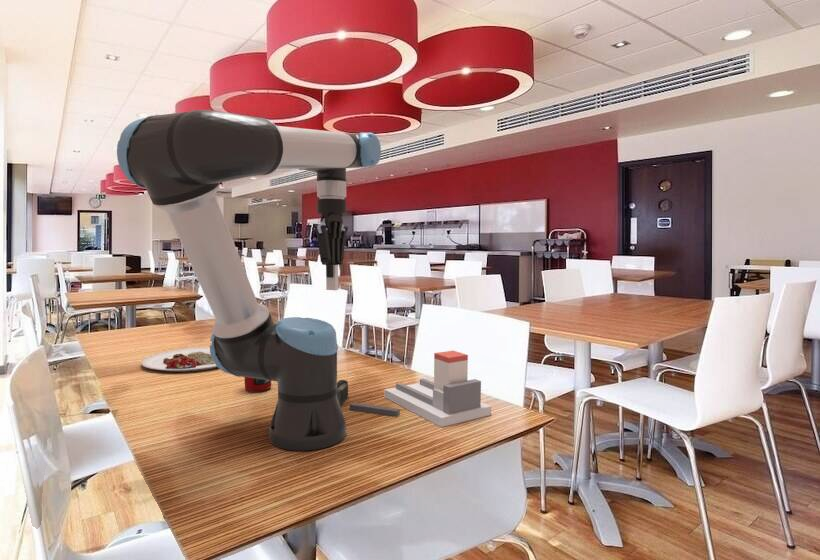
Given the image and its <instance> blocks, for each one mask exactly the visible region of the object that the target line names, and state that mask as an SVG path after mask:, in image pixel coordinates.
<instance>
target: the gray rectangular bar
mask: <svg viewBox="0 0 820 560" xmlns="http://www.w3.org/2000/svg"><path fill="white" fill-rule="evenodd" d="M349 410H350V411H355V412H362V413H367V414H368V413H369V414H375V415H382V416H387V417H388V416H389V417H394V416H395V417H396V418H397V417H398V416H400V415H401V413H400V412H401V409H400V408H394V407H387V406H379V405H374V404H365V403H359V402H352V403H350V404H349Z"/></svg>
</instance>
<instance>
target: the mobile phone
mask: <svg viewBox="0 0 820 560" xmlns="http://www.w3.org/2000/svg"><path fill="white" fill-rule="evenodd" d="M337 398H338V401H339V404H340V406H341V405H342V404H343V403H344V402H346V400H348V398H349V383H348V380H345V379H340V380H337Z"/></svg>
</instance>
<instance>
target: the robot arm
mask: <svg viewBox="0 0 820 560" xmlns="http://www.w3.org/2000/svg"><path fill="white" fill-rule="evenodd" d="M119 136H120V137H119V139H118V141H117V145H116V157H117V158H116V159H117V163H118V166H119V169H120V170H121V172H122V174H123V175H124V177H125V178H126V179H127V180H128V181H129V182H130V183H132V184H135V186H137V187H140V188H142V189H146V192H147V194H148V197H149V198H150V200H151V203H152V205H153V206H154V207H156V208H159V209H161V210H164V211H166V213H167V215H168V217H169V219H170V221H171V224H172V226H173V228H174V231H175V233H176V234H177V237H178V239H179V241H180V244H181V246H182V249H183V250H184V252H185V255H186V257H187V259H188V262H189V263H190V265H191V267H192V270H193V272H194V274H195V276H196V278H197V281H198V283H199V285H200V287H201V290H202V292H203V294H204V297H205V298H206V300H207V303H208V305H209V307H210V310H211V311H212V314H213V316H214V319H215V321H214V323H213V325H212V329H211V331H212V333H211V336H210V340H209V341H210V342H211V345H209V347H210V354H211V357H212V359H213V361H214V363H215V364H216V366H217V367H216V368H218V369H219V370H220V371H222V372H223V373H226V374H229V375H233V376H235V377H238V378H239V377H242V378H244V377H249V378H256V379H263V380H271V382H276V383H277V403H276V405H275V408H274V411H273V414H272V418H271V421H270V425H269V429H268V431H269V433H268V434H269V435H268V438H269V442H270V444H272V446H275V447H277V448H279V449H283V450H286V451H287V450H288V451H295V452H296V451H298V452H299V451H300V452H301V451H302V452H303V451H304V452H305V451H306V452H307V451H313V450H314V451H315V450H316V451H317V450H321V449H325V448H328V447H332V446H334V445H336V444H339V443H340V442H342V441H343V440H344V439H345V437H346V435H347V422H346V419H345V415H344V414H343V410H342V407H341V405H340V404H339V401H338V398H337V382H338V349H339V344H338V341H337V340H338V339H337V332H336V329H335V328H334V326H333V325H332V324H331V323H329V322H327V321H324V320H321V319H318V318H312V317H299V316H298V317H297V316H294V317H292V316H291V317H285V318H281V319H279V320H278V321H277V322H276V323H275V322H274V320H273V317H272V315H271V312H270V310H269V307H268V306H267V305H265V304H261V303H258V300H257V297H256V295H255V293H254V290H253V288H252V285H251V283H250V280H249V277H248V275H247V272H246V270H245V267H244V265H243V262H242V260H241V257H240V254H239V253H238V250H237V247H236V245H235V242H234V240H233V237H232V235H231V233H230V229H229V227H228V225H227V221H226V220H225V217H224V215H223V211H222V209H221V206H220V205H219V202H218V200H217V198H216V197H217V196H216V194H217V192H218V190H219V189H220V186H221V185H220V183H225V182H230V181H233V180H234V181H235V180H239V179H244V178H250V177H255V176H257V177H258V176H269V175H270V174H273V173H274V172H276V171H277V170H288V169H289V170H294V169H295V170H296V169H297V170H299V171H308V172H314V173H316V196H317V197H318V198H319V199H317V200H316V212H317V214H318V215H320V222H319V224H315V225H314V230H315V233H316V236H317V237H316V238H317V244H318V251H319V259H320V263H321V265H322V266H325V278H326V279H325V281H326V285H325V287H326V290H327V291H339V265H341V266H342V264H343V262H344V255H345V248H346V247H345V246H346V239H347V237H346V236H347V234H348V229H349V228H348V226H345V225H344V221H343V216H342V215H345V214H346V213H347V200H346V199H345V198H347V169H356V168H357V169H358V168H359V169H361V168H364V169H366V168H369V167H374V166H376V165H378V163H379V162H380V160H381V158H382V157H381V155H382V151H381V150H382V148H381V142H380V140H379V137H378V136H377V135H376V134H375V133H373V132H359V133H358V132H357V133H354V132H353V133H351V132H350V133H349V132H340V131H332V130H331V131H330V130H320V129H313V128H312V129H311V128H300V127H292V126H283V125H282V126H281V125H276V124H275V123H274V122H272V121H271V120H270V119H267V118H264V117H257V116H250V115H244V114H239V113H234V112H228V111H227V112H226V111H220V110H213V109H212V110H211V109H196V110H189V111H183V112H175V113H174V112H173V113H168V114H167V113H166V114H165V113H164V114H155V115H149V116H146V117H144V118H143V117H142V118H140V119H136V120H134V121H132V122H130V123H129V124H128V125H127V126H125V127H124V129H123V130H122V132H121V133H120V135H119Z"/></svg>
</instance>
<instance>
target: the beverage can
mask: <svg viewBox="0 0 820 560" xmlns="http://www.w3.org/2000/svg"><path fill="white" fill-rule="evenodd" d="M243 379H244V388H245V389H246V390H247V391H249V392H251V393H252V392H253V393H258V392H259V393H260V392H261V393H262V392H264V391H267V390H268V389H269V388H271V387H272V381H271V380H263V379H256V378H249V377H243Z"/></svg>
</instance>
